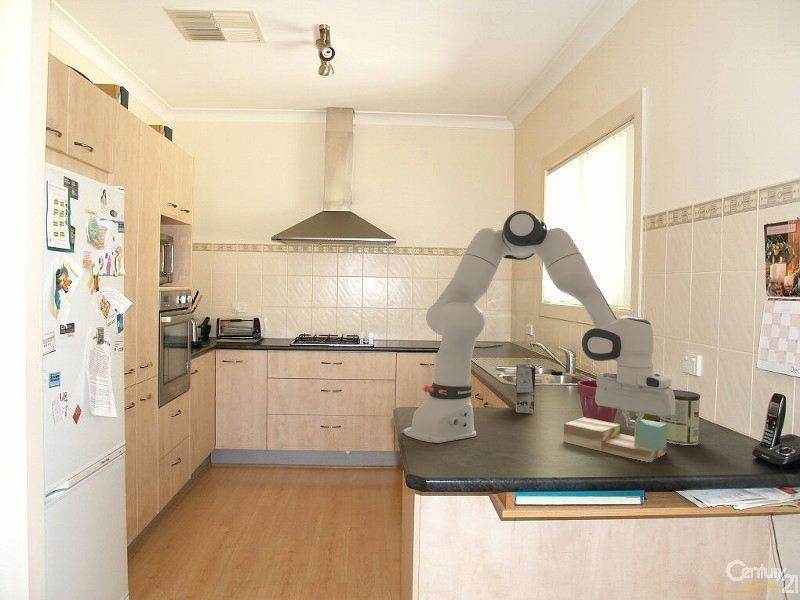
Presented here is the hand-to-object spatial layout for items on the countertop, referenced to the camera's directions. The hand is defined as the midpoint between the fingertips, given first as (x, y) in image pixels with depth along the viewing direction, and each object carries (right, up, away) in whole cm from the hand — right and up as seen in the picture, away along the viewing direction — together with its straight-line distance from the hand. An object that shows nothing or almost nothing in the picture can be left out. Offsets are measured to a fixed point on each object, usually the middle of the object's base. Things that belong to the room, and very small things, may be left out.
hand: (632, 427), depth 140 cm
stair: (-4, -6, +4) cm, 8 cm away
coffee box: (-18, -5, +45) cm, 49 cm away
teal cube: (+1, -1, -1) cm, 2 cm away
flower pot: (+23, -7, +38) cm, 45 cm away
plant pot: (+3, -6, +31) cm, 32 cm away
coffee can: (+19, -7, +12) cm, 23 cm away
